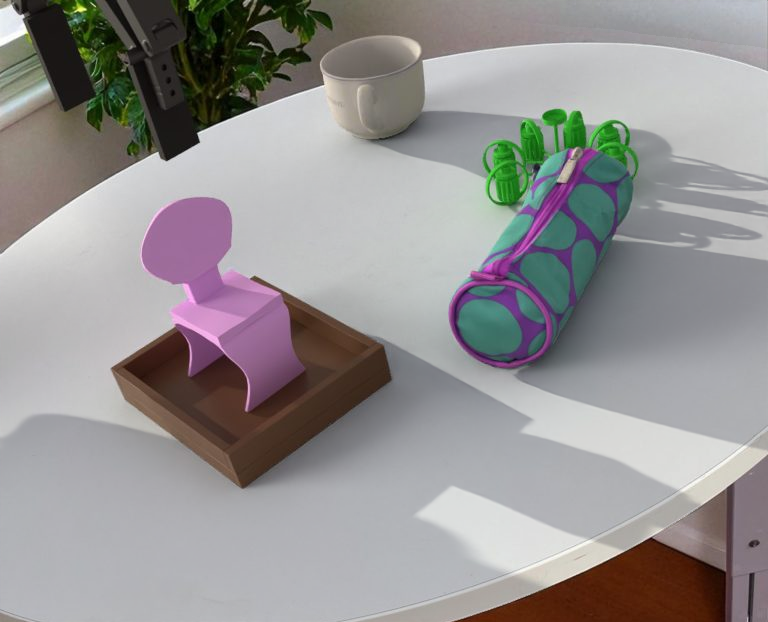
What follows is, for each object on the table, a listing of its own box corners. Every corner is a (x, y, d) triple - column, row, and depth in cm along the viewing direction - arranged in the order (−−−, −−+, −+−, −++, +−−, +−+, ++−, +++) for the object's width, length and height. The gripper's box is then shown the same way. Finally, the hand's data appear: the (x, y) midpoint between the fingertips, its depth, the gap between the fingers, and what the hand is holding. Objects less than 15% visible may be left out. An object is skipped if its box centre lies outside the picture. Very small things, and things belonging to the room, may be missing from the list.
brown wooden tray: (125, 399, 92) (109, 368, 89) (265, 307, 97) (254, 275, 95) (242, 489, 81) (228, 456, 79) (392, 379, 87) (384, 345, 84)
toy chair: (242, 422, 84) (180, 260, 74) (178, 382, 89) (112, 226, 79) (319, 365, 87) (270, 202, 77) (253, 330, 93) (199, 173, 82)
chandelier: (672, 187, 98) (672, 116, 93) (525, 246, 96) (517, 177, 91) (590, 127, 108) (586, 60, 103) (457, 179, 106) (446, 113, 101)
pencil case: (540, 227, 98) (530, 129, 91) (636, 235, 94) (633, 133, 87) (452, 371, 86) (433, 271, 79) (557, 387, 82) (546, 283, 75)
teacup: (352, 104, 122) (336, 34, 117) (443, 98, 119) (432, 26, 113) (315, 168, 114) (296, 96, 108) (412, 164, 110) (398, 89, 105)
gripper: (168, -258, 52) (277, 146, 67) (-46, -267, 67) (83, 64, 82) (36, -207, 49) (181, 202, 64) (-156, -229, 64) (-2, 107, 79)
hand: (126, 126), depth 73 cm, fingers open, 13 cm apart
